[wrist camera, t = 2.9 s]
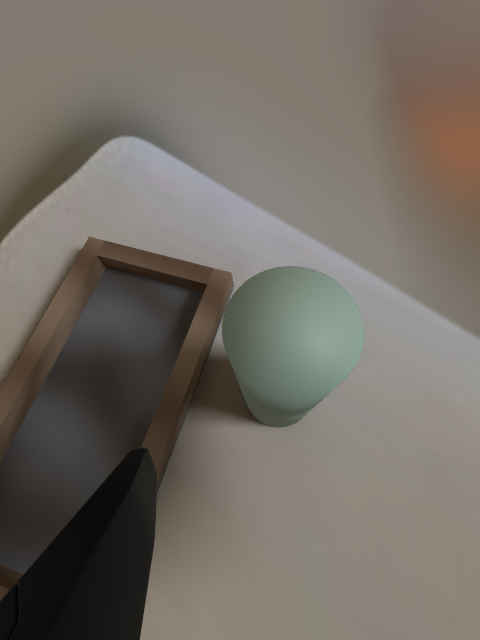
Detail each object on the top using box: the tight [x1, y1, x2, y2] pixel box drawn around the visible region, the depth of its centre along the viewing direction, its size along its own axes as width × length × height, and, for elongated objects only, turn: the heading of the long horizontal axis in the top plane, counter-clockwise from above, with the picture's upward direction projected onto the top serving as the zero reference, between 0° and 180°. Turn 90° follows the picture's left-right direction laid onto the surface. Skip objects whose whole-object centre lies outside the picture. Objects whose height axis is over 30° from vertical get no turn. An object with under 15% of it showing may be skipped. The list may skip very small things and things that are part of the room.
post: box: [222, 266, 364, 427], centre depth 14 cm, size 4×4×11 cm
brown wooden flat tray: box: [0, 237, 234, 601], centre depth 19 cm, size 20×10×2 cm, turn 162°
